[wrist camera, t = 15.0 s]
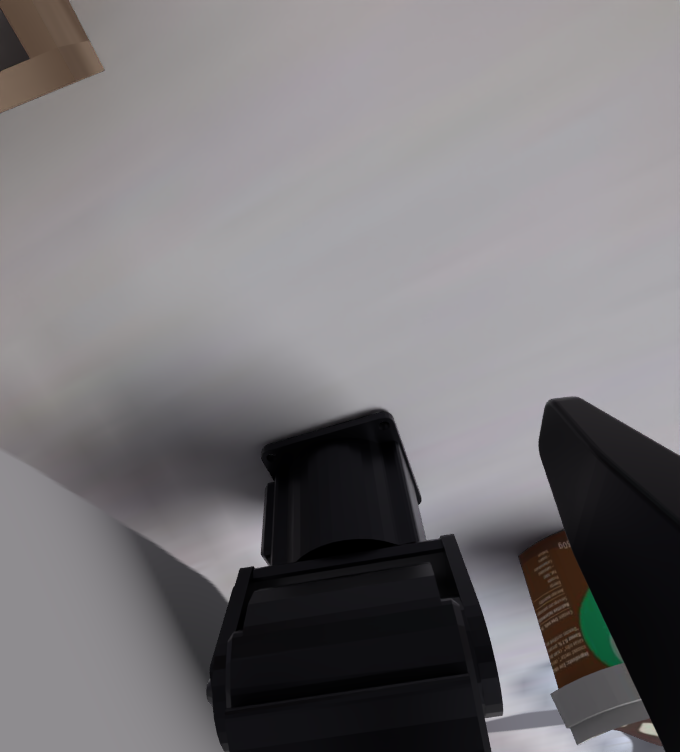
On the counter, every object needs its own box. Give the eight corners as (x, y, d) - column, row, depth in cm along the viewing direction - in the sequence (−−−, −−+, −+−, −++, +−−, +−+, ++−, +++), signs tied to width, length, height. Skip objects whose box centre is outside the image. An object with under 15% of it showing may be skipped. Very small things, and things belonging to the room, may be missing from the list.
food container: (720, 540, 32) (863, 724, 24) (645, 594, 35) (748, 773, 27) (568, 484, 28) (676, 680, 20) (498, 550, 31) (567, 743, 23)
